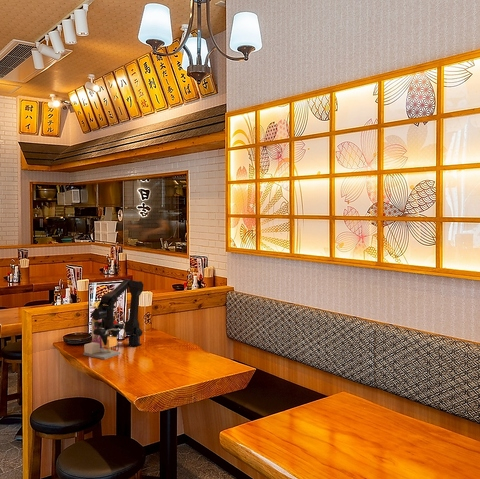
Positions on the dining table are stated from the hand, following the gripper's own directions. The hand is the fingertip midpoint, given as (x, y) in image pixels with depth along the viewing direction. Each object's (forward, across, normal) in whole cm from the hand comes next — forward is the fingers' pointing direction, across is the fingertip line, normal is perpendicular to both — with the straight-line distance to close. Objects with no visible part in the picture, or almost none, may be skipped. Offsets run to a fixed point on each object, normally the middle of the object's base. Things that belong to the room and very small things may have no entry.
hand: (109, 343), depth 285 cm
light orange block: (+1, 0, 0) cm, 1 cm away
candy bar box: (+6, -11, -19) cm, 23 cm away
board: (+6, +2, -4) cm, 8 cm away
